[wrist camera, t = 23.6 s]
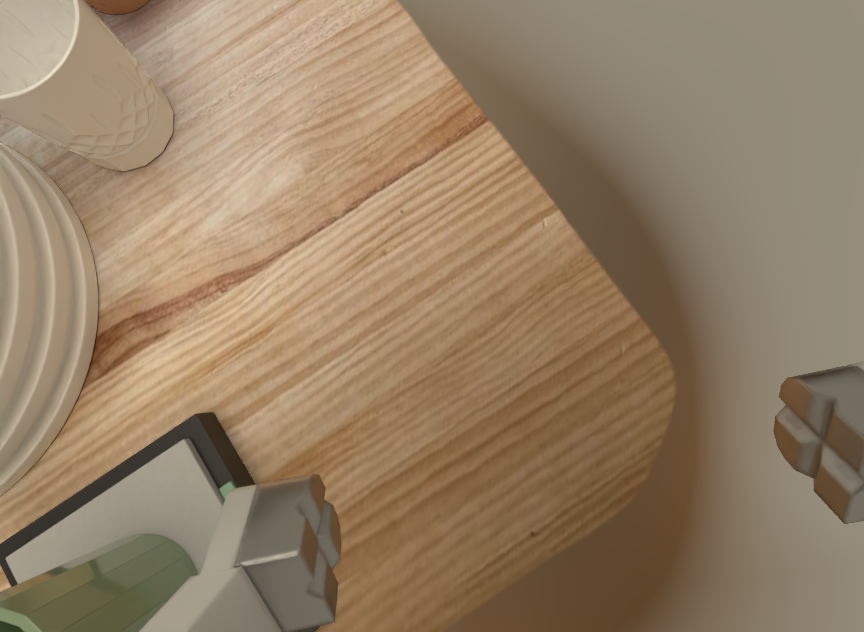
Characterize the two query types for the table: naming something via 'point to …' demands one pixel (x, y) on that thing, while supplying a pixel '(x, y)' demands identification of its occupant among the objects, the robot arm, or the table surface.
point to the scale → (139, 503)
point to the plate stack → (40, 313)
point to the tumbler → (100, 589)
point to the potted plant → (117, 5)
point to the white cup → (79, 84)
